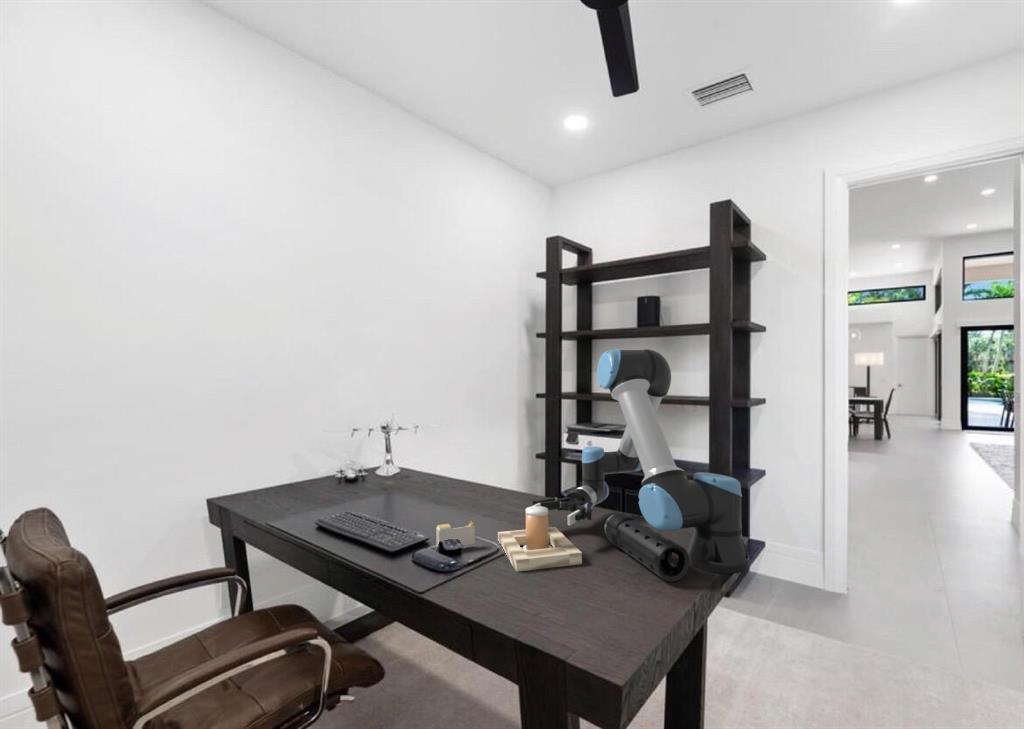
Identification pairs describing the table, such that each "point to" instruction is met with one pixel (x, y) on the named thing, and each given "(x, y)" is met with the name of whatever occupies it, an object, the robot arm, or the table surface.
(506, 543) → the square wooden frame
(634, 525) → the muzzle brake
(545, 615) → the table surface
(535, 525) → the orange white flanged cylinder
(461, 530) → the model
